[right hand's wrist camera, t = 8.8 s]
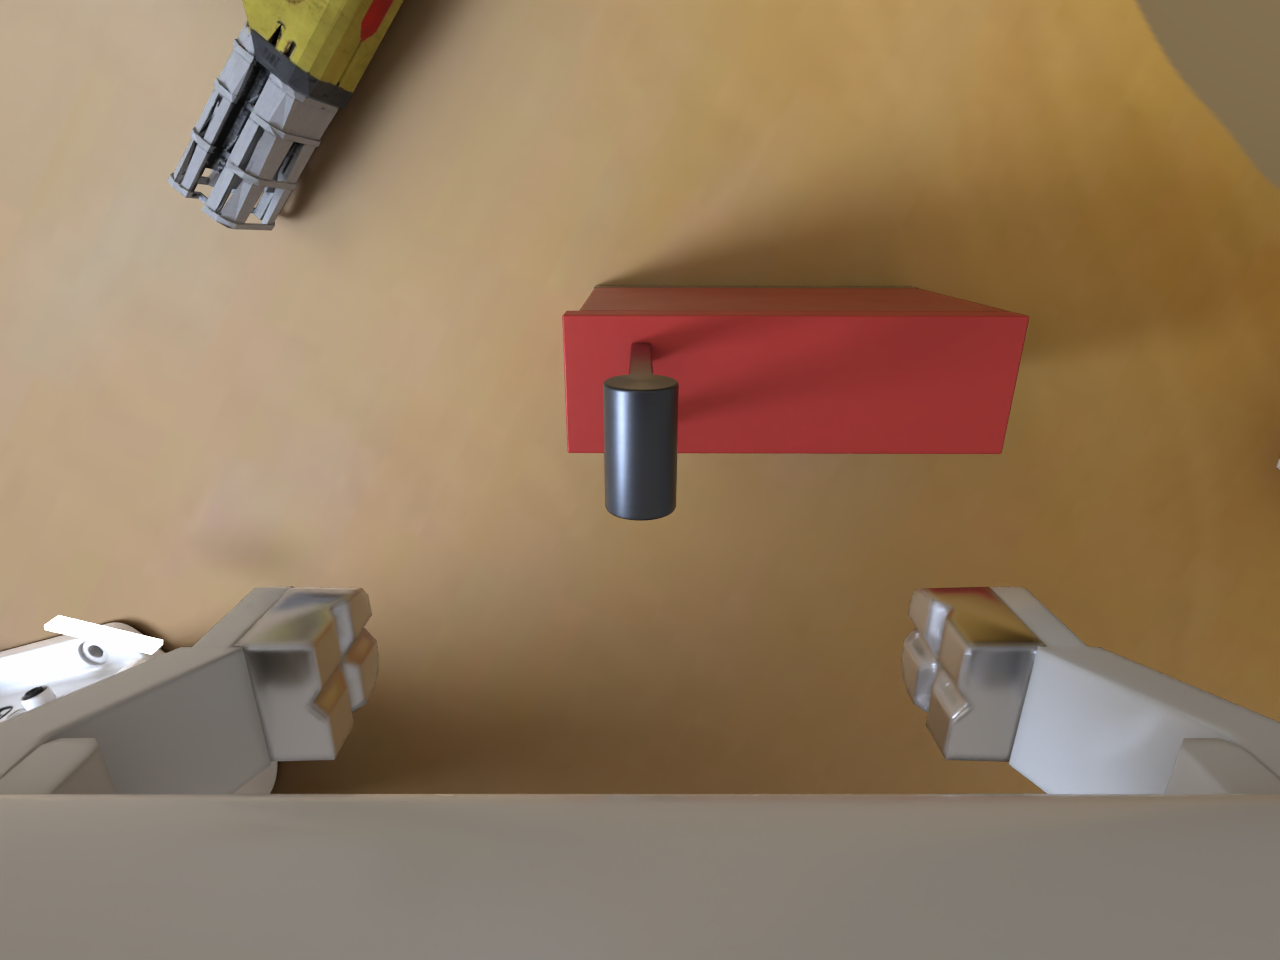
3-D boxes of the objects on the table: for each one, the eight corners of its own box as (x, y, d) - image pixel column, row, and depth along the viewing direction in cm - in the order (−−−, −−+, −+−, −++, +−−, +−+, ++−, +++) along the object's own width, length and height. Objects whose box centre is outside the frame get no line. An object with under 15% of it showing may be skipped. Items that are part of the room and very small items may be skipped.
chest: (597, 385, 36) (582, 443, 26) (595, 285, 34) (578, 310, 25) (897, 386, 36) (986, 444, 26) (911, 286, 34) (1011, 311, 25)
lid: (570, 443, 26) (537, 548, 18) (565, 310, 25) (526, 357, 16) (986, 444, 26) (1148, 549, 18) (1012, 311, 25) (1205, 359, 16)
